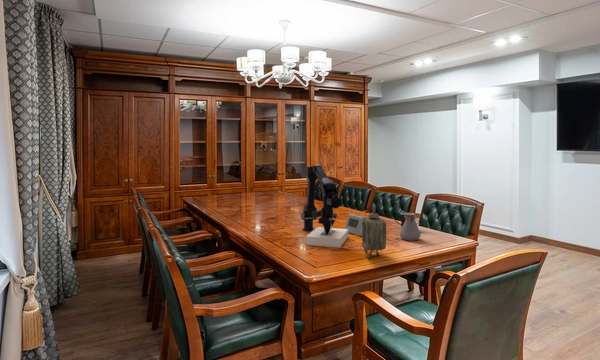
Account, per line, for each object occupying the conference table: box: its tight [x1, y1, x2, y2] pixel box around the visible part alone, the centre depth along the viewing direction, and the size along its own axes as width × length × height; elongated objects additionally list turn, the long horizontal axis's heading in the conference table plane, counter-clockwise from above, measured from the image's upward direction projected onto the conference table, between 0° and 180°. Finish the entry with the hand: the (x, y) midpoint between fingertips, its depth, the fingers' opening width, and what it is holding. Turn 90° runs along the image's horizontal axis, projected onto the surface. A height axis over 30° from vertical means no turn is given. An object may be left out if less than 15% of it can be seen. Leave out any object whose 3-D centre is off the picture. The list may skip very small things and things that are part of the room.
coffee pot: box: [399, 215, 422, 242], centre depth 204 cm, size 21×12×15 cm, turn 167°
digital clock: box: [343, 213, 364, 237], centre depth 222 cm, size 16×9×11 cm, turn 21°
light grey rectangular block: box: [323, 225, 333, 236], centre depth 205 cm, size 4×4×6 cm
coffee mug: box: [393, 212, 416, 228], centre depth 234 cm, size 12×9×10 cm
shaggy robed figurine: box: [361, 202, 387, 260], centre depth 176 cm, size 14×9×25 cm, turn 178°
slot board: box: [305, 226, 349, 249], centre depth 205 cm, size 24×18×4 cm
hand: (327, 233), depth 205 cm, fingers closed on light grey rectangular block, 4 cm apart
